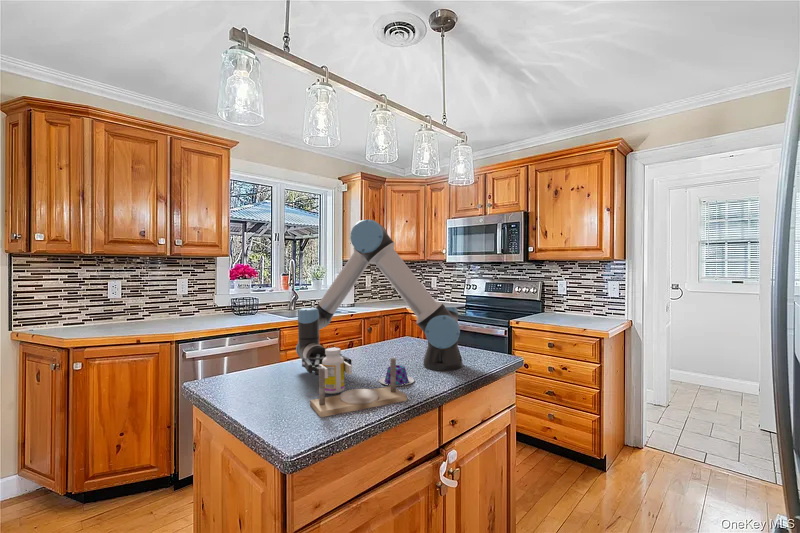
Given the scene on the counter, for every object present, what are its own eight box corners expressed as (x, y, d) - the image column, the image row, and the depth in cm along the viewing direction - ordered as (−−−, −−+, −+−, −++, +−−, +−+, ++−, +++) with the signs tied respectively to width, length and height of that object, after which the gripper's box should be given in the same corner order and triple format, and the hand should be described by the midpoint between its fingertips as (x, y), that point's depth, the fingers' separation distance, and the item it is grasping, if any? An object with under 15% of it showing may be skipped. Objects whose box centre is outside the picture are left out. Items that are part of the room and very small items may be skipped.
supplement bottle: (339, 386, 127) (338, 345, 126) (348, 391, 121) (347, 349, 121) (319, 389, 123) (318, 348, 123) (327, 395, 117) (326, 352, 117)
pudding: (419, 385, 131) (419, 370, 130) (383, 389, 127) (383, 373, 127) (408, 375, 142) (408, 361, 142) (375, 378, 139) (375, 363, 139)
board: (390, 390, 125) (390, 354, 125) (408, 401, 116) (407, 361, 115) (309, 404, 113) (309, 364, 113) (321, 418, 103) (320, 374, 103)
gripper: (343, 363, 142) (369, 379, 122) (288, 370, 133) (306, 389, 113) (343, 342, 142) (368, 355, 122) (287, 348, 133) (305, 363, 113)
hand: (338, 371), depth 118 cm, fingers closed on supplement bottle, 7 cm apart
